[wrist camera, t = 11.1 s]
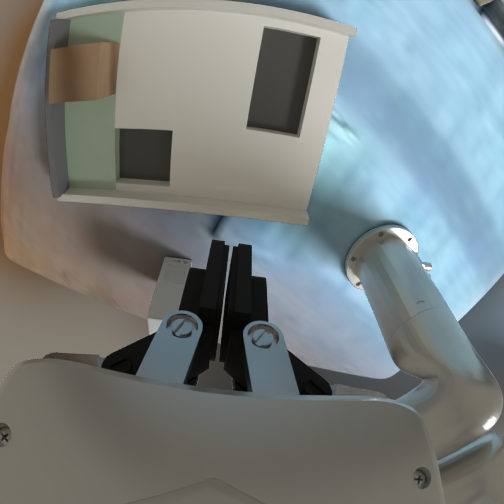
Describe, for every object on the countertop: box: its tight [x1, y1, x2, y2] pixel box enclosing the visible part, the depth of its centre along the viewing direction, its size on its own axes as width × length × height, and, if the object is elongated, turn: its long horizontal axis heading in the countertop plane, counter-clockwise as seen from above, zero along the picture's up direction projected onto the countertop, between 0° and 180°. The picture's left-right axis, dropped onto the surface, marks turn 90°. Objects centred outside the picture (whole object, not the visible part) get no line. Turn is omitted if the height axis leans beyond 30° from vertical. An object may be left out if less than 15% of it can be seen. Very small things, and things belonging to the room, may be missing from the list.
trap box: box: [45, 0, 357, 226], centre depth 28 cm, size 32×24×5 cm
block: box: [49, 42, 120, 104], centre depth 23 cm, size 6×6×5 cm
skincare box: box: [147, 257, 192, 335], centre depth 40 cm, size 6×4×12 cm
